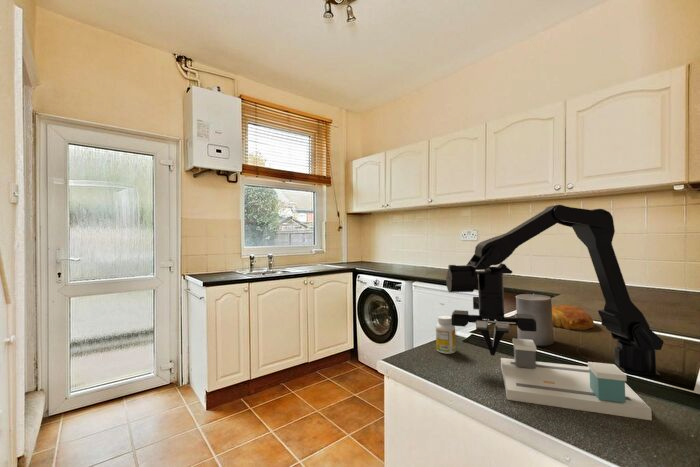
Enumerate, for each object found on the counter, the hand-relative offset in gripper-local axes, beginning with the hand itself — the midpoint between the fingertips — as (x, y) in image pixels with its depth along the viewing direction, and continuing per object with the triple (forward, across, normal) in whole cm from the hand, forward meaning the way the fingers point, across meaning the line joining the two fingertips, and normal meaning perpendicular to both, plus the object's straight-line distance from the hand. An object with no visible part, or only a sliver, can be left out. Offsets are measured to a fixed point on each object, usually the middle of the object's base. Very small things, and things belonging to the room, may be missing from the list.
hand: (492, 355), depth 80 cm
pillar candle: (+4, -13, -27) cm, 30 cm away
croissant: (+4, -27, -50) cm, 57 cm away
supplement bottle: (+4, +12, -10) cm, 16 cm away
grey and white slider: (+1, -7, 0) cm, 7 cm away
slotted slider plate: (+4, -13, +6) cm, 15 cm away
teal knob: (+1, -19, +12) cm, 23 cm away
